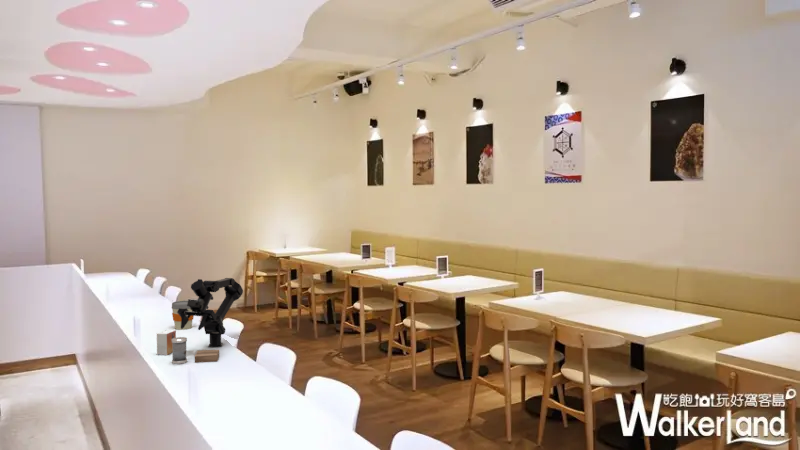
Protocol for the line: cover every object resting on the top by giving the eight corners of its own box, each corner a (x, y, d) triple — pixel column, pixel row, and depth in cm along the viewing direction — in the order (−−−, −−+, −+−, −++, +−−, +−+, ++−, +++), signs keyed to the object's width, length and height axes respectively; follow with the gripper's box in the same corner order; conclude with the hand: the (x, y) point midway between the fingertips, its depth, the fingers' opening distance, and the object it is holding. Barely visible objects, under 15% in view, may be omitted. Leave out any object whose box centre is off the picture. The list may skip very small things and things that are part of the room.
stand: (197, 356, 283) (197, 350, 283) (219, 355, 285) (219, 349, 285) (194, 362, 273) (194, 356, 273) (217, 361, 275) (217, 355, 275)
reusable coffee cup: (199, 327, 345) (199, 302, 344) (181, 331, 334) (180, 305, 334) (185, 324, 352) (185, 299, 351) (167, 328, 341) (166, 303, 340)
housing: (173, 360, 277) (173, 337, 276) (188, 359, 278) (187, 336, 277) (170, 364, 270) (170, 340, 269) (185, 363, 271) (185, 340, 271)
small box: (167, 355, 285) (166, 333, 285) (156, 354, 286) (156, 333, 286) (176, 351, 293) (176, 330, 293) (166, 350, 294) (165, 329, 294)
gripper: (179, 291, 288) (165, 318, 278) (213, 293, 284) (200, 320, 274) (188, 304, 296) (175, 331, 286) (222, 306, 292) (210, 333, 282)
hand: (190, 329), depth 282 cm, fingers open, 9 cm apart
